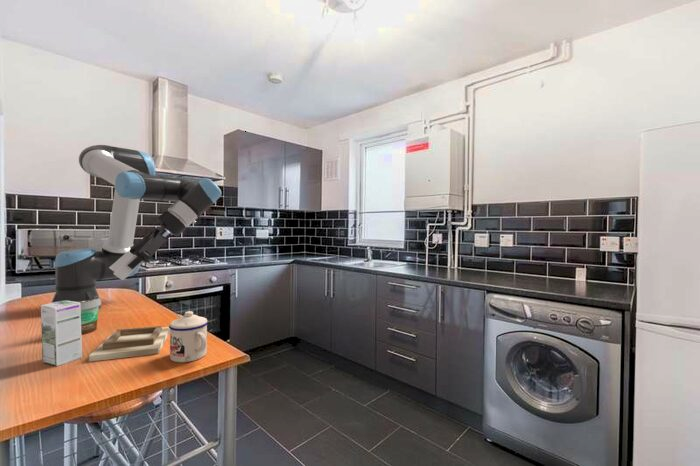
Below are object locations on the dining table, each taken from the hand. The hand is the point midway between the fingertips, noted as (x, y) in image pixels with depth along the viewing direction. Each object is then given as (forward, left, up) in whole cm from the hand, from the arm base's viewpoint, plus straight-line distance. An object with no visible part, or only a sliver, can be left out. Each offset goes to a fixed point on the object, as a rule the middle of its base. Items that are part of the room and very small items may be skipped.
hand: (115, 274), depth 86 cm
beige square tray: (-3, +4, -21) cm, 21 cm away
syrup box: (+3, -10, -21) cm, 24 cm away
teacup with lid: (+11, +20, -21) cm, 31 cm away
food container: (-19, -13, -21) cm, 31 cm away
